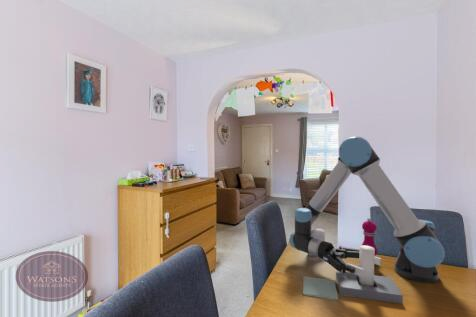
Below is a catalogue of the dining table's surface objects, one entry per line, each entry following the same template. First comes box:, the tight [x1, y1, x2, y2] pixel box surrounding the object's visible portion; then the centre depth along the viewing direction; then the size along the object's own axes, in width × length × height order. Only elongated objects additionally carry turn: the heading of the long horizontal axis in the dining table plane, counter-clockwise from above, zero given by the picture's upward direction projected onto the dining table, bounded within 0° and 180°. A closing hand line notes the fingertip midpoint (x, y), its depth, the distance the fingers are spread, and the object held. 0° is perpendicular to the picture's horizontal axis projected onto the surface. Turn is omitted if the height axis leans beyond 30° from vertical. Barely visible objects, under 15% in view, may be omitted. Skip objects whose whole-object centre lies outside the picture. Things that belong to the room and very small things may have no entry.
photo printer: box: [307, 228, 326, 257], centre depth 124 cm, size 10×4×12 cm, turn 123°
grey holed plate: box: [335, 270, 404, 305], centre depth 92 cm, size 20×12×3 cm, turn 74°
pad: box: [302, 276, 339, 301], centre depth 93 cm, size 12×12×1 cm
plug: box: [358, 244, 375, 287], centre depth 92 cm, size 5×5×16 cm
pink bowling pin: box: [360, 217, 378, 257], centre depth 116 cm, size 7×7×20 cm
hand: (373, 267), depth 90 cm, fingers open, 13 cm apart
